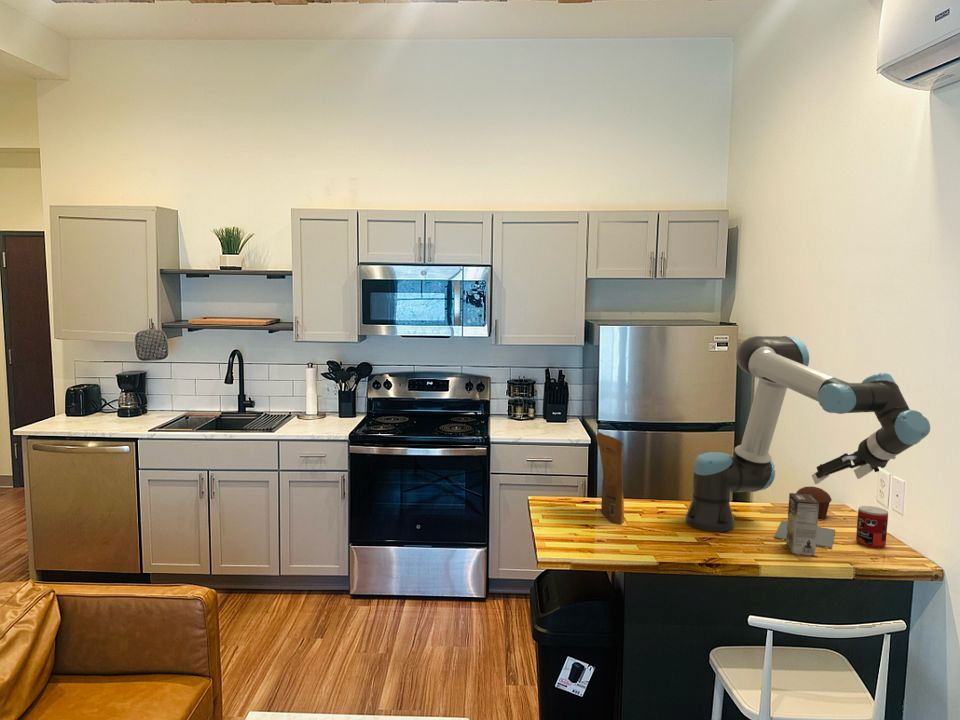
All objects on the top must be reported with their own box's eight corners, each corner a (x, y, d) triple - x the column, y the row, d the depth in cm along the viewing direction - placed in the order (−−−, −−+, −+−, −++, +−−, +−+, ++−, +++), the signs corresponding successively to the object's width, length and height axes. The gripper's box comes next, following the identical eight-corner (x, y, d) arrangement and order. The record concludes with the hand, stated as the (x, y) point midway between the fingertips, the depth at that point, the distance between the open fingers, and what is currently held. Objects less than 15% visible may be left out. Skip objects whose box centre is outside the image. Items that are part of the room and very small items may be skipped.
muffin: (794, 518, 230) (796, 489, 229) (791, 509, 240) (793, 482, 239) (832, 523, 226) (835, 494, 225) (828, 513, 236) (830, 485, 235)
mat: (774, 538, 209) (774, 536, 209) (781, 522, 225) (781, 520, 225) (831, 549, 201) (831, 547, 201) (835, 531, 217) (835, 529, 217)
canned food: (850, 540, 209) (852, 505, 208) (874, 539, 210) (877, 505, 209) (866, 549, 202) (869, 513, 201) (891, 548, 202) (894, 513, 201)
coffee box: (785, 543, 205) (788, 492, 203) (807, 545, 203) (811, 493, 202) (792, 554, 196) (796, 500, 194) (816, 556, 195) (820, 502, 193)
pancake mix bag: (609, 526, 216) (613, 441, 213) (591, 508, 235) (594, 430, 232) (629, 526, 217) (633, 441, 214) (610, 508, 236) (613, 430, 233)
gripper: (843, 466, 172) (801, 494, 190) (928, 455, 176) (879, 484, 194) (831, 439, 176) (791, 469, 194) (914, 430, 180) (868, 460, 198)
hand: (835, 477), depth 194 cm, fingers open, 13 cm apart
